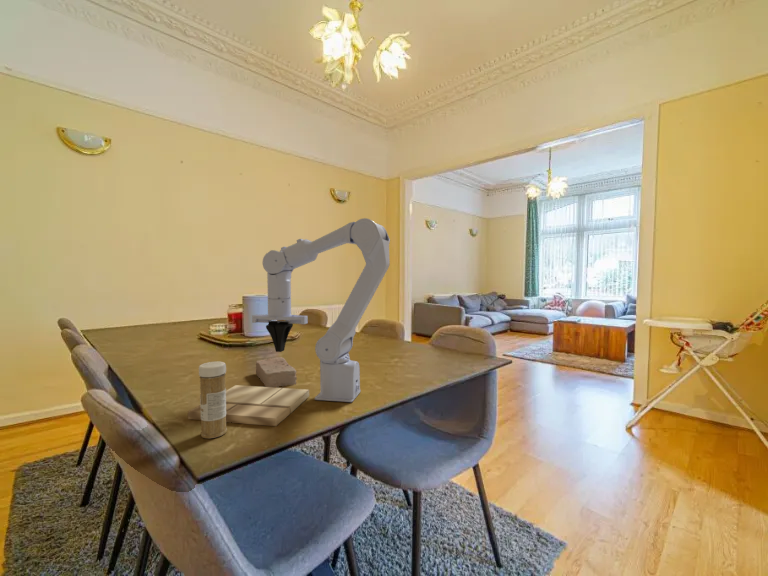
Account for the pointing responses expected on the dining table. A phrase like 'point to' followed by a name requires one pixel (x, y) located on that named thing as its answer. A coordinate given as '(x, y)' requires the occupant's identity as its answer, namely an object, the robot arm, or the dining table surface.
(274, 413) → the floor row
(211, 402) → the sprinkles bottle
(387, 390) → the dining table surface
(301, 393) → the plank
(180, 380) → the dining table surface
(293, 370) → the brick
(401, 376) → the dining table surface
